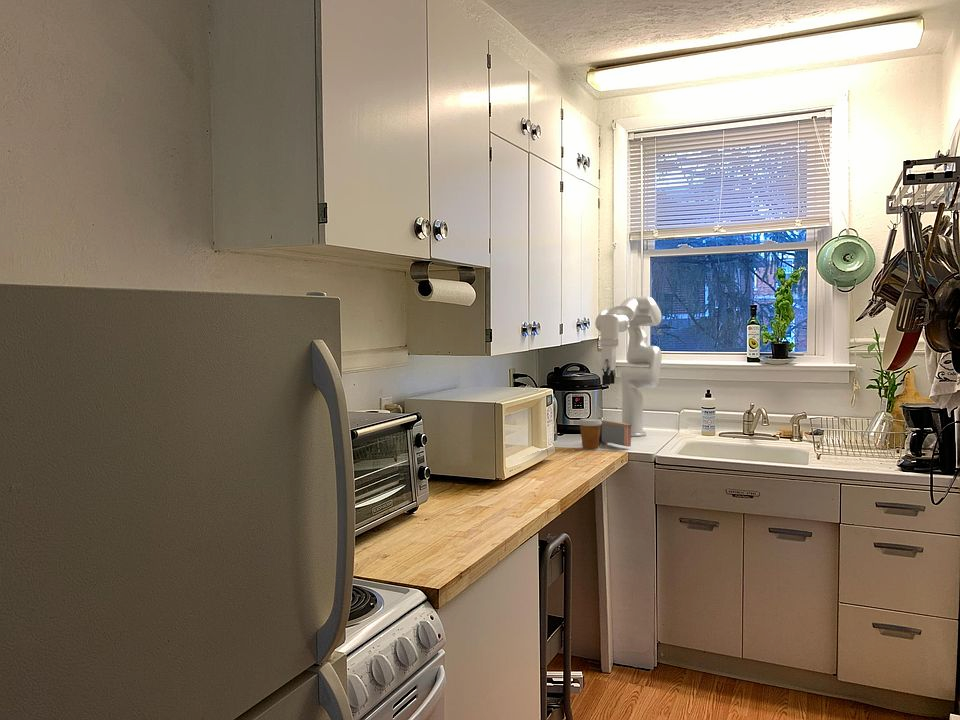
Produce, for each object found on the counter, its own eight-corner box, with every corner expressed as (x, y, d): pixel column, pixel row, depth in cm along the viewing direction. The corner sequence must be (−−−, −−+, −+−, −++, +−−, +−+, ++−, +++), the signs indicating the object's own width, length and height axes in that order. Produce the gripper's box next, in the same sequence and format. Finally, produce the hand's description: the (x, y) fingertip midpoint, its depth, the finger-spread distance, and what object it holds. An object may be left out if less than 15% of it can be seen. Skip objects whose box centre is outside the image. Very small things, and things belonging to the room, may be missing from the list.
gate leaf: (601, 441, 316) (601, 420, 315) (604, 440, 317) (605, 420, 316) (627, 446, 301) (627, 424, 301) (630, 446, 302) (631, 424, 302)
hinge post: (588, 442, 319) (589, 417, 318) (601, 441, 322) (601, 416, 322) (599, 445, 313) (599, 419, 312) (611, 443, 316) (612, 418, 316)
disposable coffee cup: (590, 451, 298) (591, 421, 297) (573, 447, 305) (574, 419, 305) (606, 448, 304) (606, 419, 303) (589, 445, 311) (589, 417, 311)
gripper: (604, 343, 319) (603, 382, 320) (596, 343, 303) (595, 384, 303) (621, 343, 317) (620, 383, 317) (614, 343, 300) (613, 385, 301)
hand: (608, 384), depth 310 cm, fingers open, 9 cm apart
